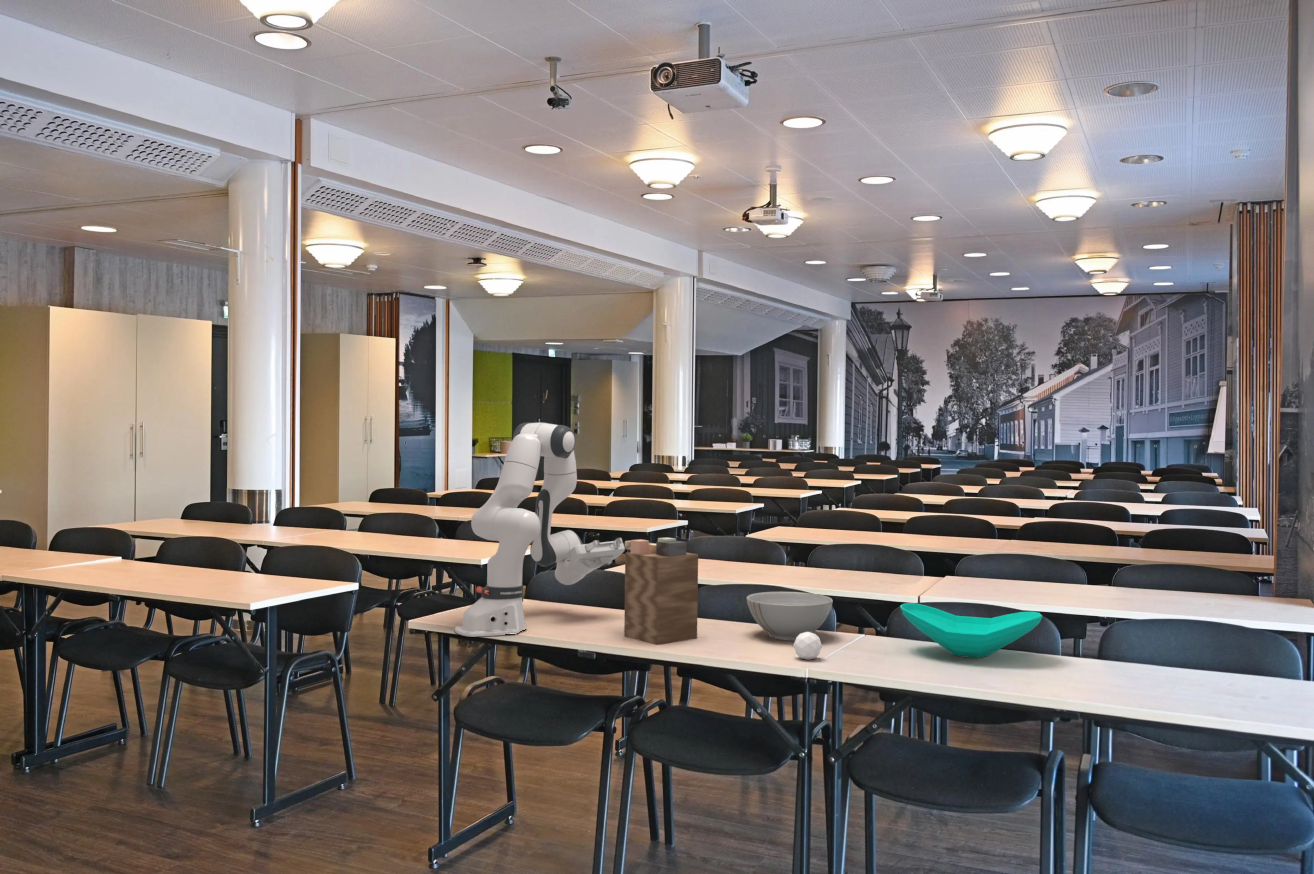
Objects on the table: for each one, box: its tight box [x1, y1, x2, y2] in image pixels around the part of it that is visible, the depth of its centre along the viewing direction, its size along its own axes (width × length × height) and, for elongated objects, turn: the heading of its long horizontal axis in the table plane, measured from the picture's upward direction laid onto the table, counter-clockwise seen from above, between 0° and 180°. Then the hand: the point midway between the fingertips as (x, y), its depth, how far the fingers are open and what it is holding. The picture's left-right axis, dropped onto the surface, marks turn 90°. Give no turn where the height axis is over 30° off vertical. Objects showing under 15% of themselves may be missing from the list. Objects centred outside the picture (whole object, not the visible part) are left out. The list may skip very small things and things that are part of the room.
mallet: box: [624, 540, 687, 557], centre depth 328 cm, size 24×7×4 cm, turn 40°
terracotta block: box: [630, 539, 650, 554], centre depth 324 cm, size 4×4×4 cm
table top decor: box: [899, 602, 1043, 659], centre depth 304 cm, size 40×28×13 cm
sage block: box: [657, 537, 677, 542], centre depth 331 cm, size 4×4×4 cm
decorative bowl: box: [746, 591, 834, 641], centre depth 329 cm, size 27×27×12 cm
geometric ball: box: [793, 632, 823, 661], centre depth 297 cm, size 8×8×8 cm
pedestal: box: [623, 551, 699, 646], centre depth 325 cm, size 16×16×26 cm
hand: (609, 541), depth 345 cm, fingers open, 8 cm apart
